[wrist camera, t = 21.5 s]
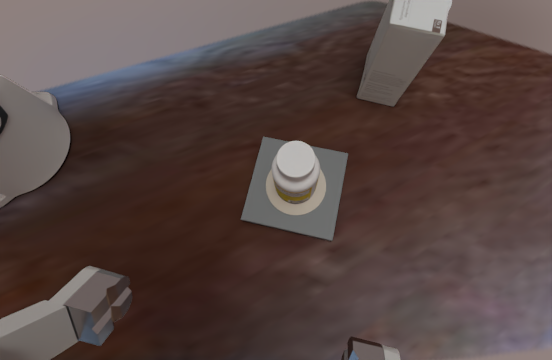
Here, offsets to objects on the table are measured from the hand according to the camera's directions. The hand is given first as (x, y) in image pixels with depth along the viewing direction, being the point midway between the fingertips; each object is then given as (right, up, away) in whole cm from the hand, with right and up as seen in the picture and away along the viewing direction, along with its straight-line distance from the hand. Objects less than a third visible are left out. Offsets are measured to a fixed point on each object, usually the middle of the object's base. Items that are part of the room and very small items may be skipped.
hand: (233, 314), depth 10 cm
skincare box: (+17, +20, +34) cm, 43 cm away
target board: (+4, +4, +30) cm, 30 cm away
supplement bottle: (+4, +4, +28) cm, 29 cm away
